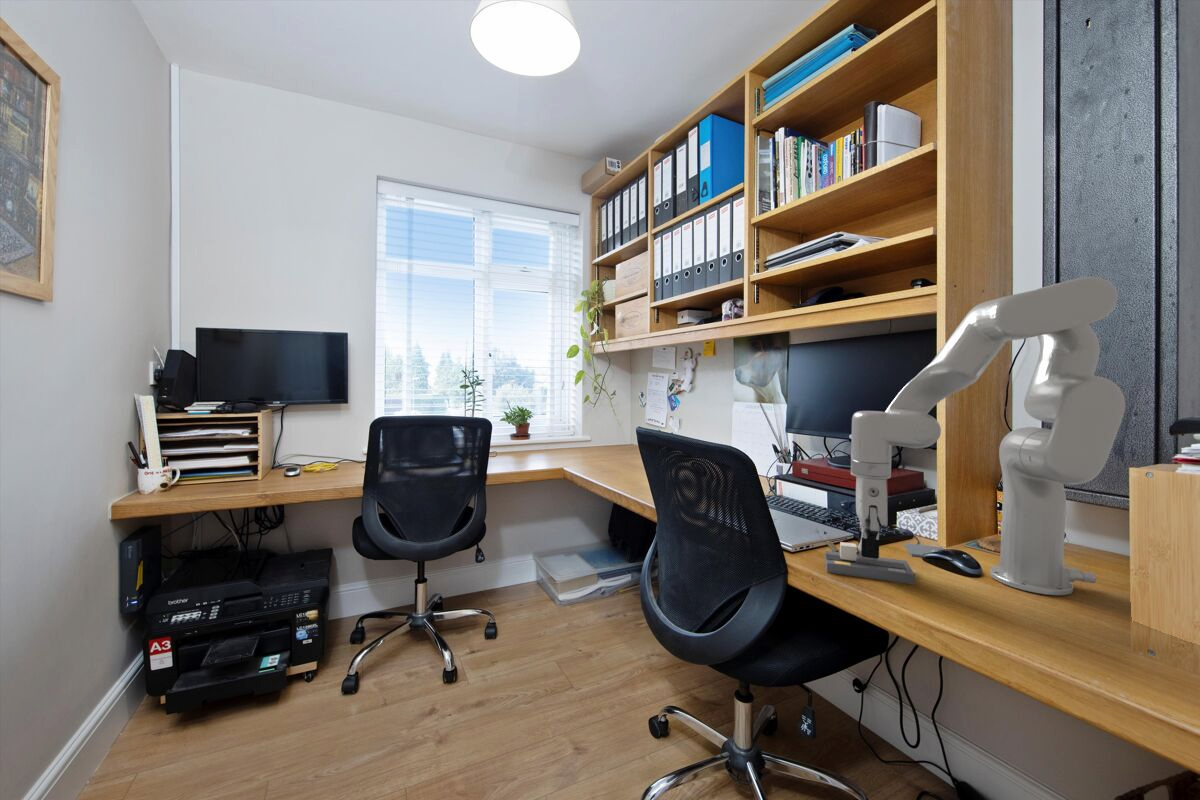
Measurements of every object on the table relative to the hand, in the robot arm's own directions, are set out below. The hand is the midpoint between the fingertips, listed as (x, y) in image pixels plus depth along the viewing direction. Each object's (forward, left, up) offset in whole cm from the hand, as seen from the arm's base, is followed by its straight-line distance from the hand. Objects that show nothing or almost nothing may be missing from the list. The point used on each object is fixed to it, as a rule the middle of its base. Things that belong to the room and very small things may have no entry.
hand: (868, 552), depth 103 cm
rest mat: (-15, -18, -4) cm, 24 cm away
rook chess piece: (0, 0, -1) cm, 1 cm away
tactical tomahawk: (+6, -17, -5) cm, 18 cm away
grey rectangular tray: (0, 0, -4) cm, 4 cm away
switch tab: (+4, 0, -2) cm, 4 cm away
